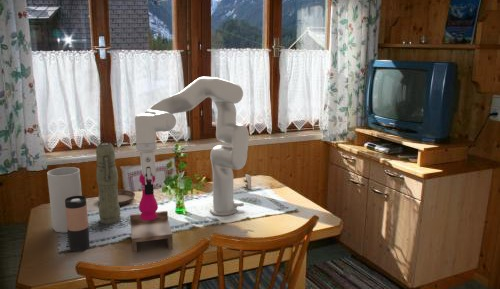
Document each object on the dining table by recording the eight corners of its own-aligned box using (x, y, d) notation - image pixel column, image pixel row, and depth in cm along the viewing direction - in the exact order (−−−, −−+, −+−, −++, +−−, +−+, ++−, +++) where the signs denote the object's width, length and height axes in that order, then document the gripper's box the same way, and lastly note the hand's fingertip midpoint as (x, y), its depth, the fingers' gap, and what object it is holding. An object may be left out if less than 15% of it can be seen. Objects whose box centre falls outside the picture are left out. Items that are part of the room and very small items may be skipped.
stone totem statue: (118, 214, 206) (112, 140, 198) (123, 223, 196) (118, 145, 188) (98, 217, 202) (92, 142, 194) (102, 226, 192) (96, 147, 184)
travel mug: (72, 243, 176) (68, 195, 172) (92, 243, 177) (88, 195, 172) (66, 252, 169) (61, 202, 164) (87, 251, 170) (83, 202, 165)
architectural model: (245, 190, 240) (245, 177, 239) (239, 187, 246) (239, 174, 245) (251, 189, 242) (251, 176, 240) (245, 186, 248) (245, 173, 246)
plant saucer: (136, 205, 218) (135, 199, 217) (98, 209, 213) (97, 203, 212) (134, 193, 234) (134, 188, 234) (99, 197, 229) (98, 191, 229)
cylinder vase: (53, 224, 195) (47, 169, 189) (83, 219, 200) (78, 165, 194) (53, 235, 184) (46, 177, 178) (85, 230, 189) (80, 173, 183)
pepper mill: (153, 221, 171) (151, 170, 168) (136, 220, 172) (133, 169, 169) (161, 215, 178) (159, 166, 174) (144, 214, 179) (142, 165, 176)
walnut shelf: (168, 230, 188) (167, 210, 186) (172, 248, 173) (172, 226, 170) (131, 235, 184) (130, 214, 182) (132, 253, 168) (131, 231, 166)
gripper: (158, 151, 162) (160, 198, 167) (154, 141, 179) (156, 184, 183) (137, 152, 160) (140, 199, 165) (135, 142, 177) (137, 185, 181)
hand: (148, 191), depth 174 cm, fingers closed on pepper mill, 5 cm apart
